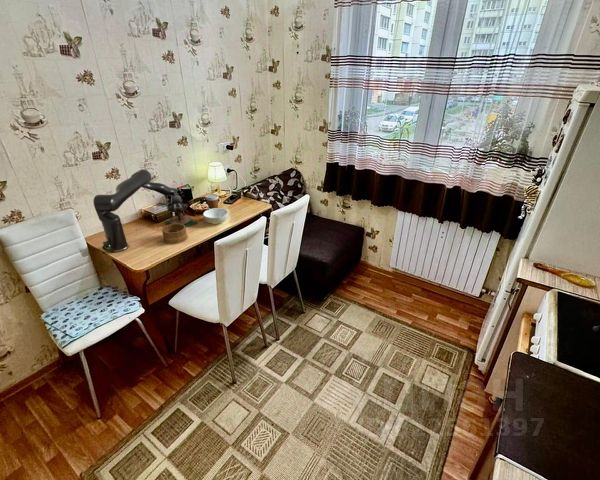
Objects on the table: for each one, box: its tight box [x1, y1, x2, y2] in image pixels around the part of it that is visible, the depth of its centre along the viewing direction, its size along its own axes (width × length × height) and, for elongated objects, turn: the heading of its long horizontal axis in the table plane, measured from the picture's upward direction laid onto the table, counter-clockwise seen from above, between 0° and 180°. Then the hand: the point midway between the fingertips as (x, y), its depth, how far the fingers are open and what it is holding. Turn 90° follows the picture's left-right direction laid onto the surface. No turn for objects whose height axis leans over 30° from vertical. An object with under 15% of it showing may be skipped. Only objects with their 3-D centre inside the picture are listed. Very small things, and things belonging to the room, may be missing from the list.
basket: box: [161, 223, 188, 245], centre depth 191 cm, size 14×14×8 cm
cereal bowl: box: [202, 207, 229, 225], centre depth 214 cm, size 17×17×7 cm
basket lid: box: [168, 207, 192, 224], centre depth 209 cm, size 15×15×10 cm
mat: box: [164, 218, 198, 228], centre depth 212 cm, size 16×16×1 cm
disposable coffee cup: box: [205, 193, 220, 209], centre depth 230 cm, size 10×10×12 cm
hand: (178, 211), depth 206 cm, fingers closed on basket lid, 2 cm apart
